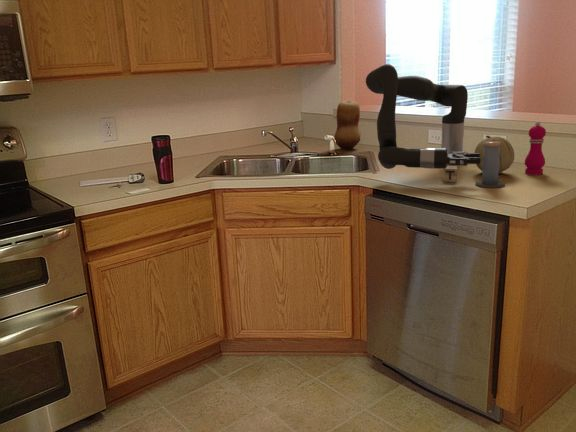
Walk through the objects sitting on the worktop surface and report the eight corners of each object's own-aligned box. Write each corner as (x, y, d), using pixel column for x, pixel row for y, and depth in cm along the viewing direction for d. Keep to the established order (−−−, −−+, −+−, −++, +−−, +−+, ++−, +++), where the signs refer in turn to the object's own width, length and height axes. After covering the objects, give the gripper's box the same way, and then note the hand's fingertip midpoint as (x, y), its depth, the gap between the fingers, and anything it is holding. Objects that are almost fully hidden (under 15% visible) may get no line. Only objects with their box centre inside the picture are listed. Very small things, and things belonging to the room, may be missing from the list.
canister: (480, 181, 197) (482, 141, 193) (497, 181, 195) (500, 141, 191) (481, 184, 192) (483, 143, 188) (498, 185, 190) (501, 143, 186)
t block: (443, 178, 207) (443, 166, 206) (456, 178, 206) (457, 166, 204) (443, 181, 202) (443, 168, 201) (456, 182, 201) (457, 169, 200)
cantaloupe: (514, 177, 202) (517, 138, 198) (473, 177, 207) (475, 138, 202) (511, 169, 216) (513, 132, 212) (472, 169, 220) (474, 133, 216)
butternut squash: (354, 152, 274) (353, 102, 267) (330, 150, 280) (329, 102, 273) (364, 147, 285) (364, 99, 278) (341, 146, 292) (340, 100, 285)
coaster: (475, 181, 200) (475, 180, 199) (503, 182, 197) (503, 180, 197) (475, 187, 191) (475, 186, 190) (505, 188, 188) (506, 186, 187)
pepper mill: (544, 172, 209) (548, 120, 204) (544, 175, 203) (548, 123, 198) (524, 171, 212) (527, 120, 207) (523, 175, 206) (527, 122, 201)
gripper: (432, 151, 189) (481, 151, 184) (434, 144, 202) (479, 144, 198) (432, 172, 191) (480, 172, 187) (433, 164, 204) (478, 164, 200)
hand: (480, 158), depth 192 cm, fingers open, 8 cm apart
